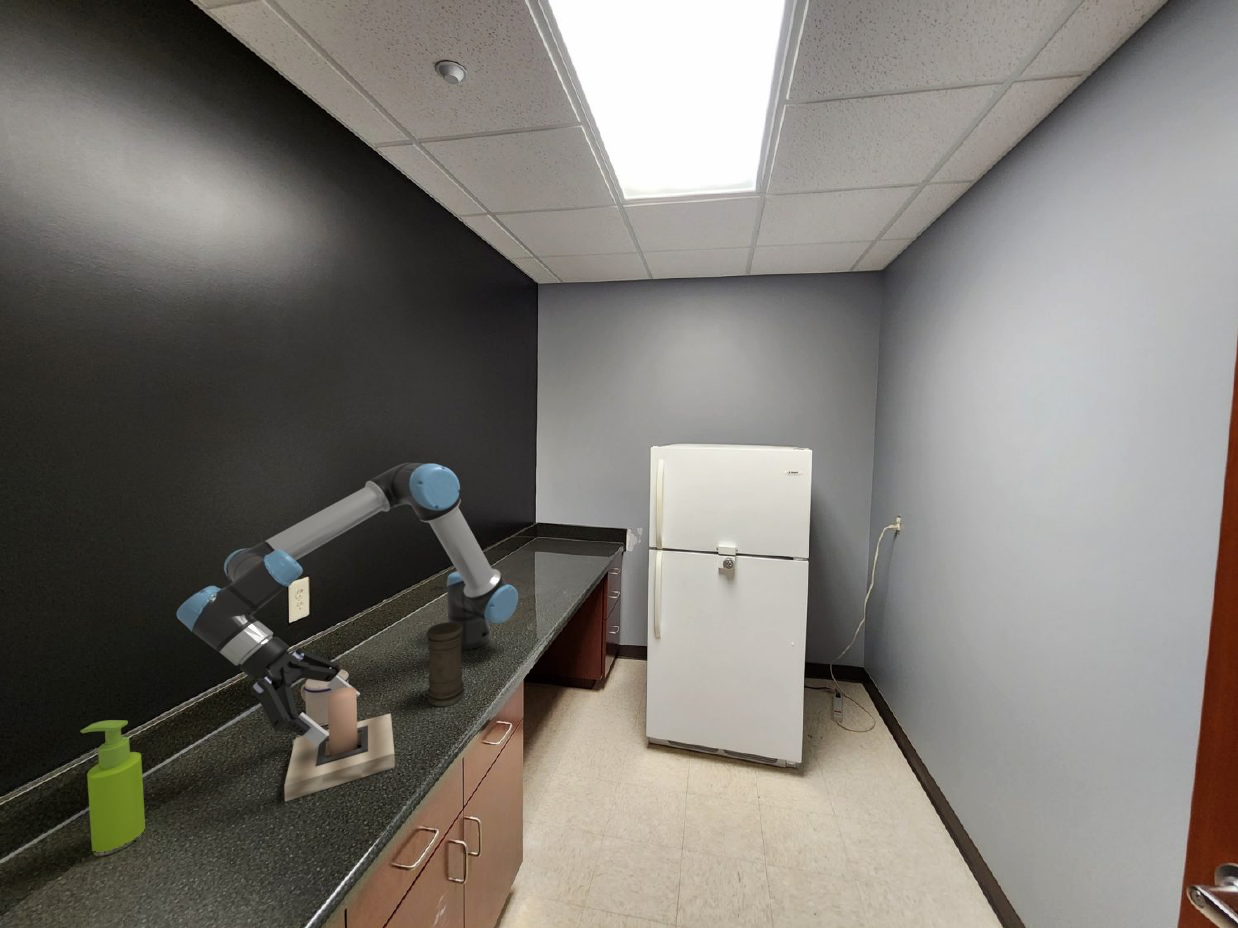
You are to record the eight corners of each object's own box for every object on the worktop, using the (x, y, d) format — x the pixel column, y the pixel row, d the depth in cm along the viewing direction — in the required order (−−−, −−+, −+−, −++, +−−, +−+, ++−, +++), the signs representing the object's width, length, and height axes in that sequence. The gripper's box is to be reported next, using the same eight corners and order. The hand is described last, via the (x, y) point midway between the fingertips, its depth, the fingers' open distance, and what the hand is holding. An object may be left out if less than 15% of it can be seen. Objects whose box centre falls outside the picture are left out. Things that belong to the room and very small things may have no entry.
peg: (358, 747, 97) (356, 684, 96) (357, 762, 93) (355, 696, 92) (330, 755, 95) (328, 690, 94) (328, 771, 90) (326, 703, 89)
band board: (390, 725, 105) (390, 711, 104) (394, 767, 92) (394, 751, 91) (295, 751, 96) (295, 736, 96) (284, 801, 83) (284, 783, 83)
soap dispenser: (111, 826, 77) (104, 713, 76) (155, 823, 78) (149, 711, 77) (73, 858, 71) (65, 736, 70) (120, 855, 72) (113, 734, 71)
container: (452, 708, 111) (451, 637, 110) (419, 704, 113) (418, 633, 112) (471, 689, 120) (470, 622, 119) (440, 685, 122) (439, 619, 121)
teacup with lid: (359, 707, 112) (357, 661, 111) (327, 730, 103) (325, 680, 102) (319, 700, 114) (318, 655, 114) (285, 722, 106) (283, 673, 105)
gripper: (281, 636, 102) (354, 696, 105) (192, 700, 77) (290, 776, 80) (305, 612, 102) (377, 673, 105) (225, 668, 78) (322, 745, 81)
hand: (340, 718), depth 93 cm, fingers open, 13 cm apart
